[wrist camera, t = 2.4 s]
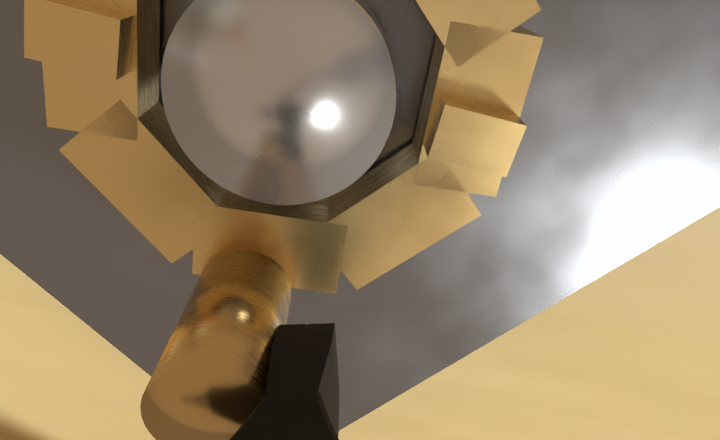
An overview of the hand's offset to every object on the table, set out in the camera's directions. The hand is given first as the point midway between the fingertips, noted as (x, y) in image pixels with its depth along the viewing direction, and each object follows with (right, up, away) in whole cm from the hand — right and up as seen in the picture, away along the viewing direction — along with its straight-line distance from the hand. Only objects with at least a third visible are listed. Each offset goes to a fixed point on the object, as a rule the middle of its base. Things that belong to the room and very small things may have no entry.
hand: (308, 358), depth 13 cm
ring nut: (0, +7, 0) cm, 7 cm away
